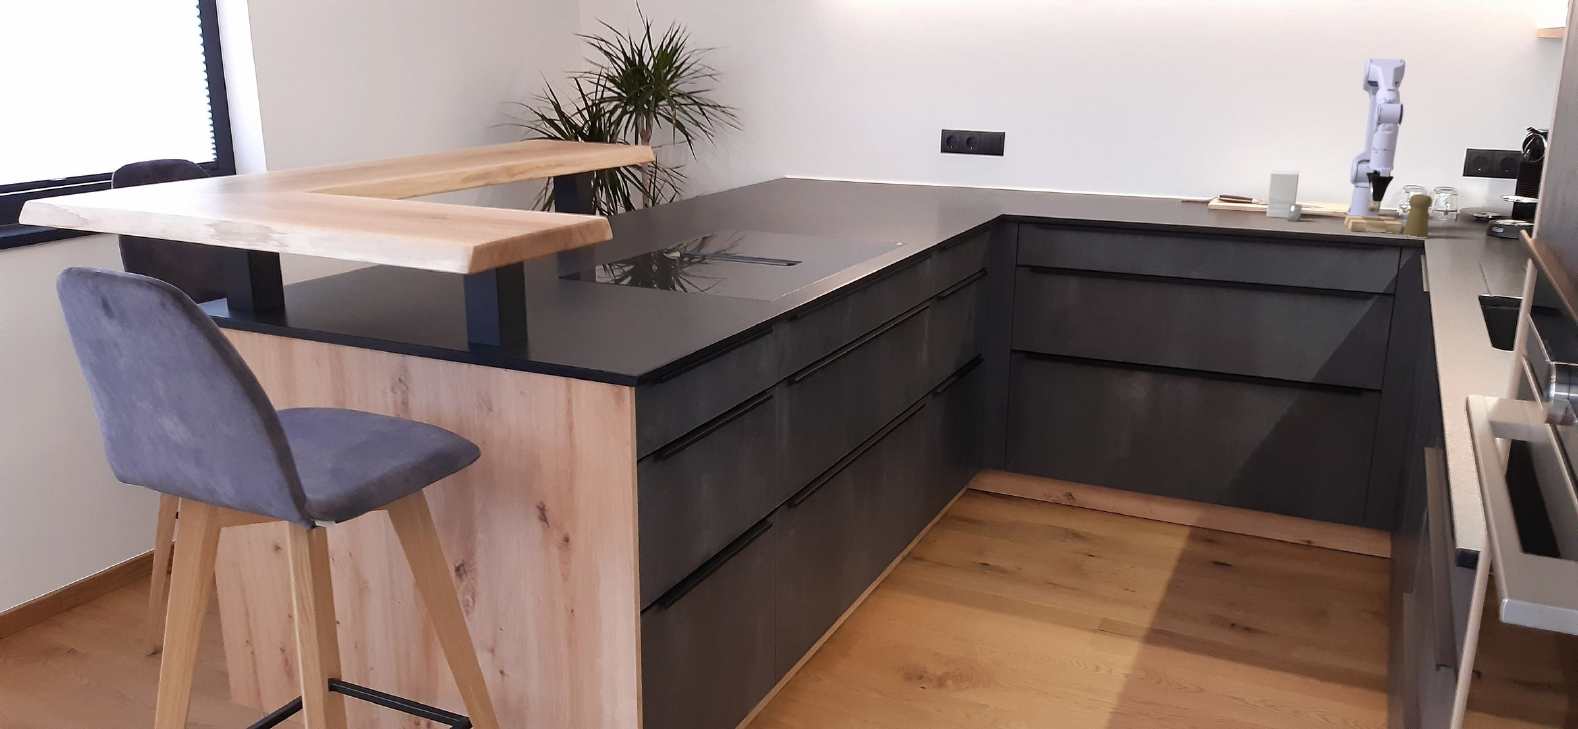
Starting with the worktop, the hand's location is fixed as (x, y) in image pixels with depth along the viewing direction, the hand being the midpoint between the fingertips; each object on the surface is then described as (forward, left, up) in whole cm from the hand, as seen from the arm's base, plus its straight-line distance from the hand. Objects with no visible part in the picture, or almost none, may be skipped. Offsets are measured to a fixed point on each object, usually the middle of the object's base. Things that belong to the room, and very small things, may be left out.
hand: (1375, 200), depth 316 cm
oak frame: (0, 0, -8) cm, 8 cm away
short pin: (-7, -19, -8) cm, 22 cm away
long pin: (0, 0, -3) cm, 3 cm away
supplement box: (-15, -22, -8) cm, 28 cm away
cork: (+9, +9, -8) cm, 15 cm away
